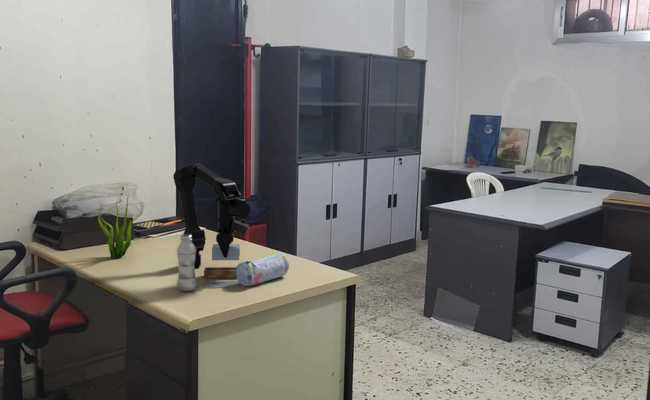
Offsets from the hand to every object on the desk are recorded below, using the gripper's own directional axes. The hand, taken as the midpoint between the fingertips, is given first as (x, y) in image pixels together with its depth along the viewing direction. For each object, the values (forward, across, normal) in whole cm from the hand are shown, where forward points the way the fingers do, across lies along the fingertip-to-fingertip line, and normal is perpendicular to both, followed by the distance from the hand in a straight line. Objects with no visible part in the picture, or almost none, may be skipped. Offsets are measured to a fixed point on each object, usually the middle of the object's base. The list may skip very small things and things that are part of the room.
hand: (226, 255), depth 230 cm
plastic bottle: (+9, -16, +13) cm, 23 cm away
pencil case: (+9, -6, -14) cm, 17 cm away
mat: (+9, -10, 0) cm, 14 cm away
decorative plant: (+9, +31, +45) cm, 55 cm away
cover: (+1, 0, 0) cm, 1 cm away
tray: (+9, 0, 0) cm, 9 cm away
